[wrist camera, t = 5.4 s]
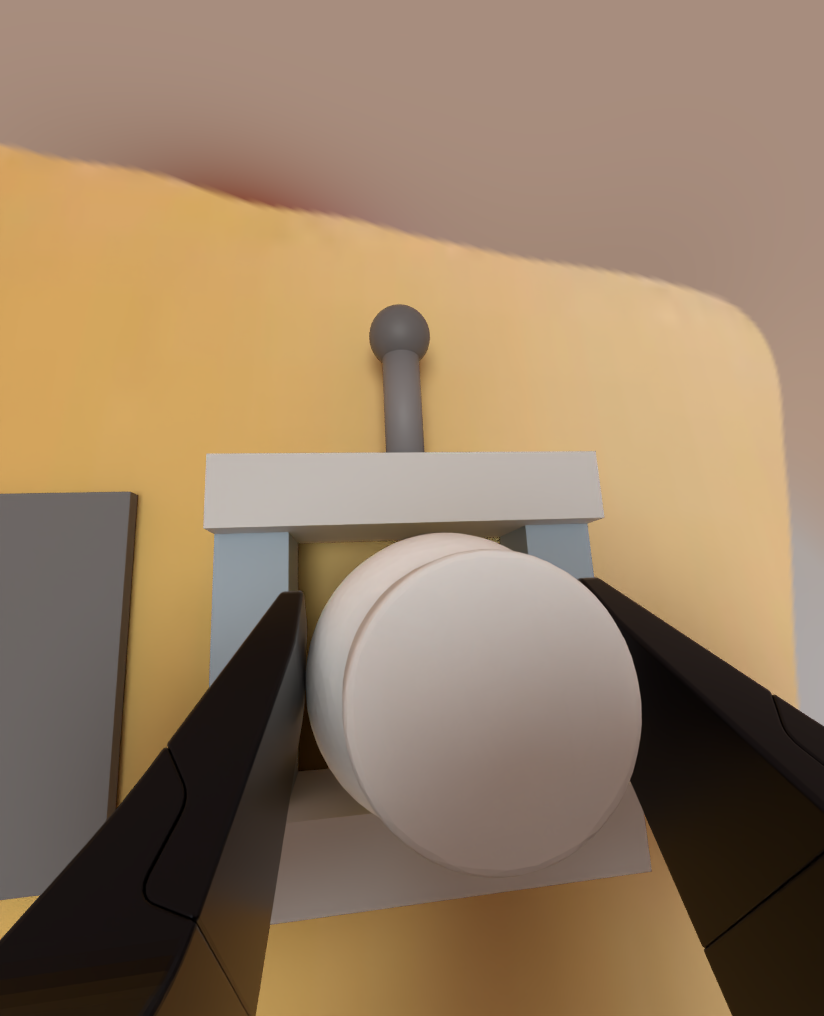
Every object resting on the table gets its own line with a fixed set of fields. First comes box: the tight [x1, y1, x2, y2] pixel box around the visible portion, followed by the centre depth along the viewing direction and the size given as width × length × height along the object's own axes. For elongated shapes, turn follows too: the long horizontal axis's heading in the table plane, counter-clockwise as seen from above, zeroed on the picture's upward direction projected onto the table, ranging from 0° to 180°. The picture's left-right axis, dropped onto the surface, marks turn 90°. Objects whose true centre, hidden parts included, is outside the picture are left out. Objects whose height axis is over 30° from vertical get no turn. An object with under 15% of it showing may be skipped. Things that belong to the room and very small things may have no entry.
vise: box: [204, 304, 652, 925], centre depth 14 cm, size 16×11×4 cm, turn 3°
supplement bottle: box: [305, 533, 642, 878], centre depth 11 cm, size 5×5×10 cm
